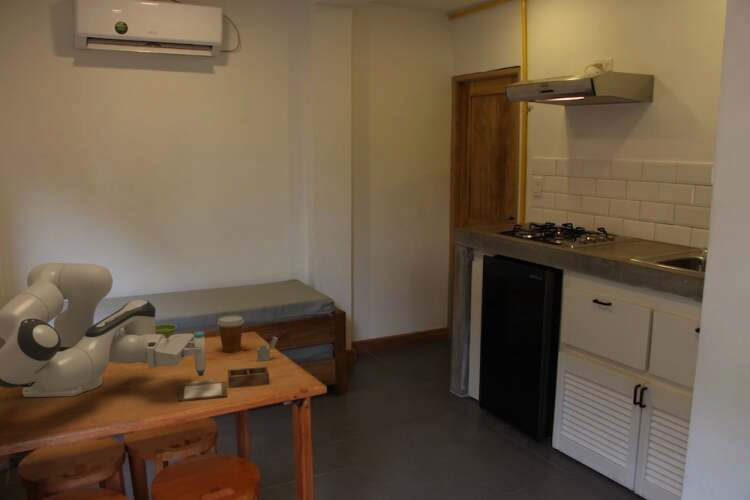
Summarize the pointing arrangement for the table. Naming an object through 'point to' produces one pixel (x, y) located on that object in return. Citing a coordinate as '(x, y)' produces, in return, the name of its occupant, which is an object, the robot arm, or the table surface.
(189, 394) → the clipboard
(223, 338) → the disposable coffee cup
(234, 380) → the box
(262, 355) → the lighter
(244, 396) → the table surface
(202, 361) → the marker
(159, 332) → the plant pot
